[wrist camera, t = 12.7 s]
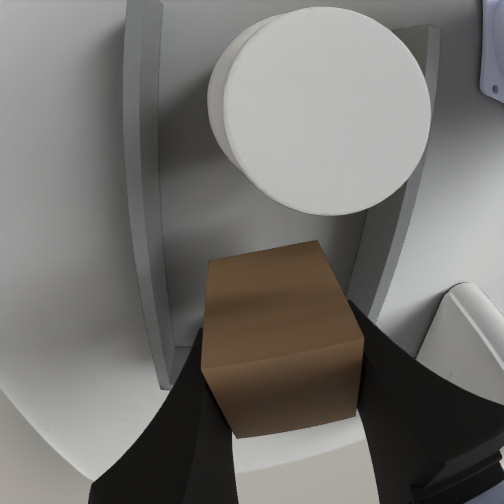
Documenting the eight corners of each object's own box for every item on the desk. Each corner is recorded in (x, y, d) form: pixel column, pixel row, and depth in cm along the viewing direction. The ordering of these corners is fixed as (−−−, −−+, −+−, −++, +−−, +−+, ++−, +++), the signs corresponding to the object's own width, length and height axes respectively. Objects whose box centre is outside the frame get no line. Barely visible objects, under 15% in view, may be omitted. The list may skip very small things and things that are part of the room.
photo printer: (442, 282, 18) (543, 434, 8) (484, 276, 18) (580, 403, 8) (400, 380, 23) (449, 505, 13) (439, 370, 24) (492, 482, 13)
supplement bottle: (272, 168, 14) (320, 279, 7) (193, 96, 12) (136, 122, 5) (350, 96, 12) (479, 134, 5) (274, 19, 10) (335, -57, 3)
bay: (404, 34, 11) (441, 29, 8) (336, 351, 20) (348, 385, 18) (148, 6, 10) (128, -11, 7) (166, 352, 19) (160, 389, 17)
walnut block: (323, 319, 14) (355, 416, 9) (232, 337, 14) (236, 438, 9) (317, 239, 12) (364, 337, 7) (208, 260, 12) (200, 369, 7)
